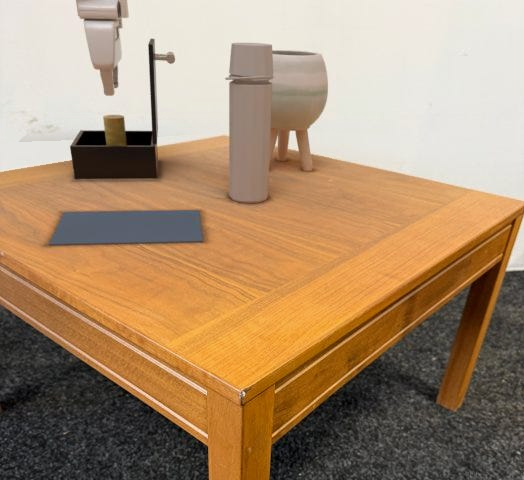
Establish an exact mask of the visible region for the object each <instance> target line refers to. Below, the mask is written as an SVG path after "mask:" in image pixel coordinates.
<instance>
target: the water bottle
mask: <svg viewBox="0 0 524 480" xmlns="http://www.w3.org/2000/svg"><path fill="white" fill-rule="evenodd" d="M230 45H231V47H230V57H229V69H228V77H225V78H224V80H225V81H229V83H228V84H229V85H228V132H229V133H228V158H229V159H228V167H229V168H228V196H229V198H230V199H231V200H232V201H233V202H236V203H240V204H260V203H263V202H265V201H266V200H267V199H268V197H269V180H270V179H269V178H270V164H269V155H270V130H271V104H272V83H270V82H269V80H272V79H273V77H274V76H273V55H272V50H273V44H270V43H261V42H232V43H231V44H230Z"/></svg>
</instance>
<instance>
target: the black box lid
mask: <svg viewBox="0 0 524 480" xmlns="http://www.w3.org/2000/svg"><path fill="white" fill-rule="evenodd" d="M155 41H156V39H155V38H149V41H148V45H147V47H148V67H149V69H148V70H149V72H148V73H149V91H150V113H151V114H150V115H151V131H152V140H153V144H157V145H158V133H159V119H158V118H159V117H158V115H159V114H158V92H157V67H156V65H157V64H156V61H162V62H163V61H165V62H166V63H168V64H169V65H172V64H174V63H175V62H176V56H175V53H174V52H173V51H168V52H167V53H156V46H155V45H156V42H155Z"/></svg>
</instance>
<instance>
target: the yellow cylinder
mask: <svg viewBox="0 0 524 480" xmlns="http://www.w3.org/2000/svg"><path fill="white" fill-rule="evenodd" d="M102 119H103V128H104V129H103V130H104V131H105V138H106V146H127V141H126V131H127V130H126V122H125V116H124V115H122V114H106V115H104V116H102Z"/></svg>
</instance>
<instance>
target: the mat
mask: <svg viewBox="0 0 524 480" xmlns="http://www.w3.org/2000/svg"><path fill="white" fill-rule="evenodd" d="M199 211H200V210H199V209H182V210H181V209H179V210H176V209H175V210H174V209H173V210H171V209H170V210H109V211H108V210H107V211H106V210H105V211H104V210H103V211H102V210H101V211H98V210H97V211H63V213H62V216H61V218H60V220H59V221H58V224H57V226H56V228H55V230H54V233H53V235H52V237H51V239H50V241H49V243H48V246H49V247H50V246H51V247H52V246H53V247H54V246H56V247H57V246H96V245H97V246H98V245H99V246H100V245H137V244H138V245H140V244H141V245H142V244H143V245H144V244H147V245H148V244H186V243H191V244H193V243H204V237H203V230H202V225H201V217H200V212H199Z"/></svg>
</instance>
